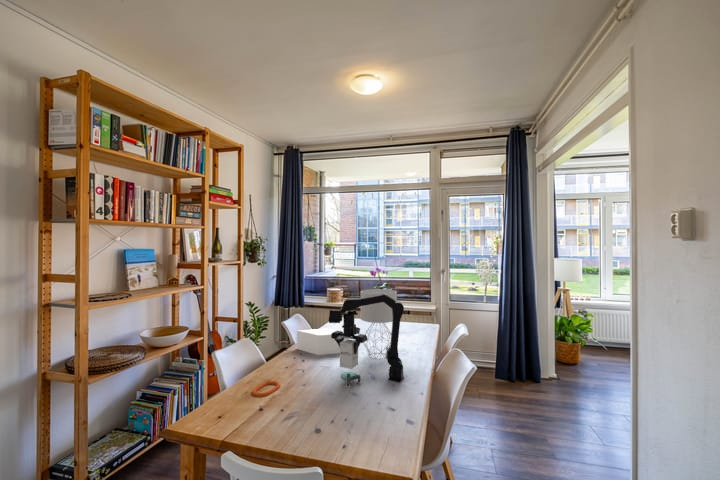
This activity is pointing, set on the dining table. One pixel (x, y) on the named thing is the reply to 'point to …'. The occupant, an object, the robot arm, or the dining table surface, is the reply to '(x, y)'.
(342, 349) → the supplement box
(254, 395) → the orange oval ring
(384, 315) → the table lamp
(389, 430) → the dining table surface
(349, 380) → the grey cabinet handle
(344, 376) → the teal round disc
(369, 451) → the dining table surface
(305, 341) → the block
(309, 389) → the dining table surface
